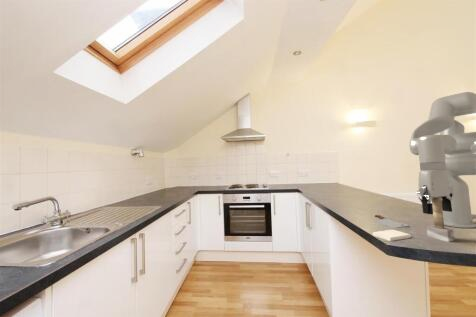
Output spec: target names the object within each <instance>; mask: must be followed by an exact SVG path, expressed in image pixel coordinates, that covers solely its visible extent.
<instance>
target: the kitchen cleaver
mask: <svg viewBox="0 0 476 317" xmlns="http://www.w3.org/2000/svg"><path fill="white" fill-rule="evenodd" d="M374 217H375V218H378V219H376V220H374V222H376V223H378V224H381V225H383V226H387V227H389V228H392V229H394V228H395V229H397V228H399V229H400V228H409V224H406V223H402V222H397V221H395V220H392V219H390V218H387V217H384V216H382V215H380V214H375V215H374Z"/></svg>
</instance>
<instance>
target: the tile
mask: <svg viewBox="0 0 476 317" xmlns="http://www.w3.org/2000/svg"><path fill="white" fill-rule="evenodd" d="M372 236H374V237H377V238H380V239H383V240H385V241H389V242H394V241H399V240H404V239H410V238H412V235H411V234H410V233H408V232H407V233H406V232H404V231H399V230H396V229H393V228H392V229H391V228H390V229H385V230H379V231H372Z"/></svg>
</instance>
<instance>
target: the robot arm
mask: <svg viewBox="0 0 476 317" xmlns="http://www.w3.org/2000/svg"><path fill="white" fill-rule="evenodd" d="M472 114H476V93H474V92H473V91H472V92H471V91H466V92H465V91H464V92H460V93H459V92H458V93H456V94H451V95H447V96H442V97H439V98H437V99H435V100H434V101H433V102H432V104H431V106H430V111H429V116H428V119H427V120H426V121H424V122H423V123H421V124H420V125H418V126H417V127H416V128H415V129H414V130H413V132H412V133H411V136H410V140H409V151H410V153H411V154H413V155H415V156H418V160H419V170H420V171H419V172H418V190H417V191H416V196H417V197H418V200H419V202H420V203H421V208H422V213H423V214H424V215H425V214H427V215H433V207H432V198H437V197H441V200H442V209H443V219H444V226H447V227H453V228H461V229H462V228H463V229H465V228H467V229H471V228H473V229H474V228H476V221H473V220H476V214H474V213H473V214H472V207H471V198H470V192H469V191H470V190H469V185H468V184H467V182H466V181H465V180H464V179H462V178H461V176H476V131H471V132H465V130H466V129H465V128H466V127H465V126H464V124H462V123H461V122H460V121H459V120H456V119H455V117H460V116H466V115H472Z"/></svg>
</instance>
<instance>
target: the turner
mask: <svg viewBox="0 0 476 317" xmlns="http://www.w3.org/2000/svg"><path fill="white" fill-rule="evenodd" d="M431 203H432V207H433V214H432V216H433V225H432V224H431V225H427V226H426V235H427V237H429V238H432V239H436V240H440V241H444V242H448V243H450V242H454V241H455V235H454V234H455V233H454V232H455V231H454V229H452V228H448V227H445V225H444V219H443V209H442V200H441V197H437V198H432V201H431Z"/></svg>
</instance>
